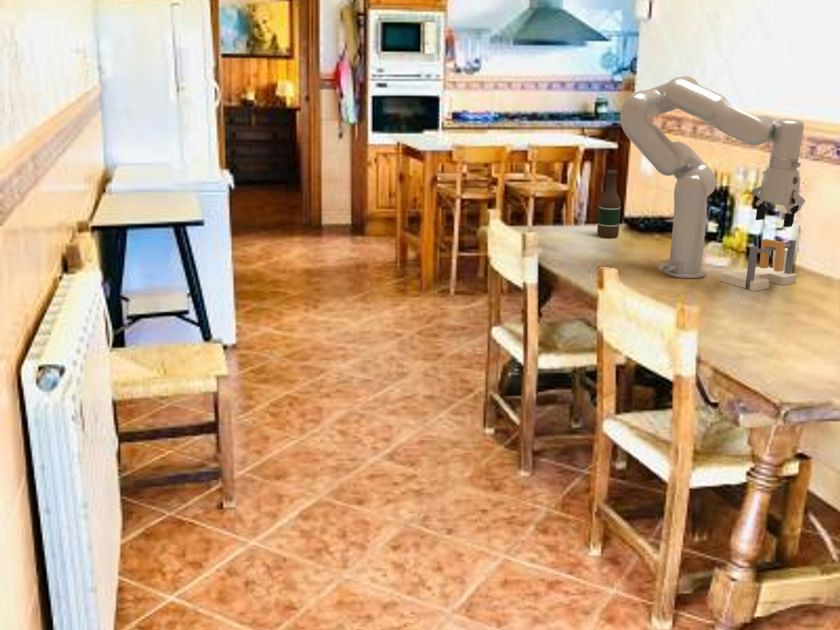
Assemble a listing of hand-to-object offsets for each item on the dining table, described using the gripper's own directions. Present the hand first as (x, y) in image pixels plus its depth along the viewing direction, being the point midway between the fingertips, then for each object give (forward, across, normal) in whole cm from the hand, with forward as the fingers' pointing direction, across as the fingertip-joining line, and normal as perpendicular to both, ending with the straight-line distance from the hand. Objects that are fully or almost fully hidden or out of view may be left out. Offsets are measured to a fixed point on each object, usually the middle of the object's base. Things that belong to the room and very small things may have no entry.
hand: (773, 223), depth 256 cm
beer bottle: (+21, +71, -3) cm, 74 cm away
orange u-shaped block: (+14, -1, -1) cm, 14 cm away
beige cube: (+19, +8, -19) cm, 28 cm away
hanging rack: (+18, +2, -1) cm, 19 cm away
